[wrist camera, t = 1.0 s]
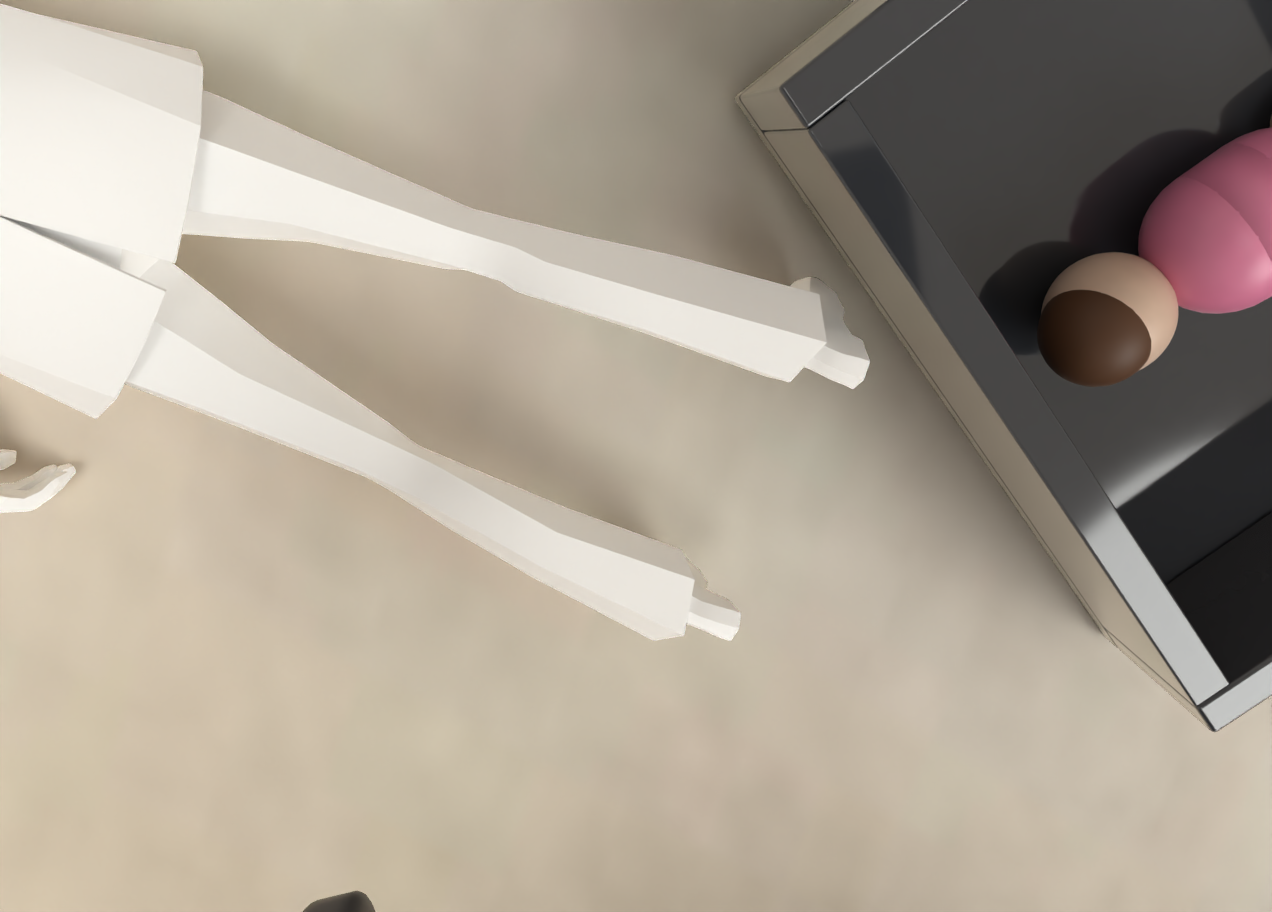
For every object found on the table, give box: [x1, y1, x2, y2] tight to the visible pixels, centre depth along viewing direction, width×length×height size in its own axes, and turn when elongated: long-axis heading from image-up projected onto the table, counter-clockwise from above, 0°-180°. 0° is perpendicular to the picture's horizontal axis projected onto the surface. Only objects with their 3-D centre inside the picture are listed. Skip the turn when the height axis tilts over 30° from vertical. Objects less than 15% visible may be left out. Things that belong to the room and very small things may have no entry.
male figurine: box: [0, 4, 870, 641], centre depth 16 cm, size 14×6×25 cm
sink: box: [735, 0, 1272, 732], centre depth 19 cm, size 15×12×4 cm
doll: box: [1037, 116, 1272, 387], centre depth 19 cm, size 8×3×3 cm, turn 128°
